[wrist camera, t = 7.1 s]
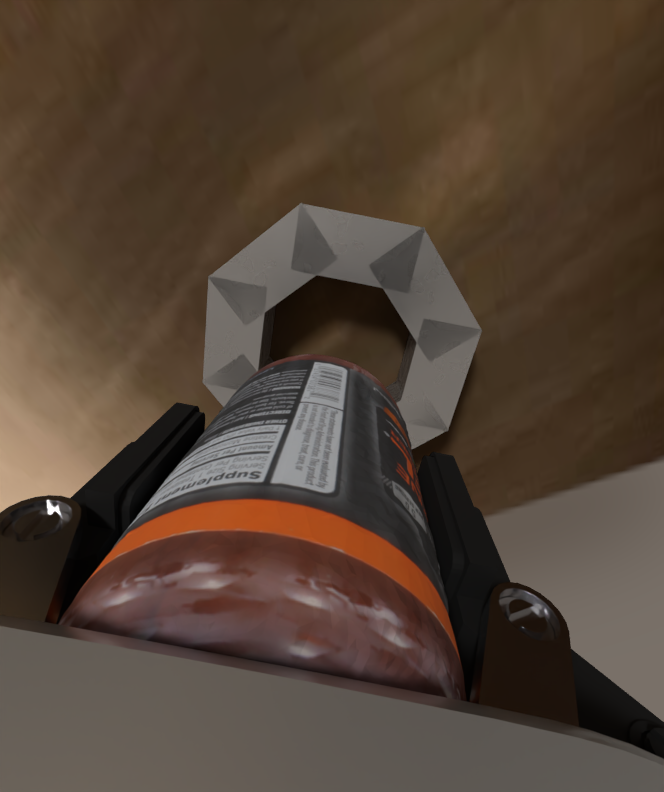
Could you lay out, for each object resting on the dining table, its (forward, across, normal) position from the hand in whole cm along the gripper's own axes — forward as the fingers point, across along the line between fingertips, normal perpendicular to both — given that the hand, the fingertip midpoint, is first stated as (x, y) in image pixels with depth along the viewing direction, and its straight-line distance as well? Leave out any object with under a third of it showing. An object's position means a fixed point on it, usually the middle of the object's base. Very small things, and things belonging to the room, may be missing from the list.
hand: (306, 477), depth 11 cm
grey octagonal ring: (+14, 0, 0) cm, 14 cm away
